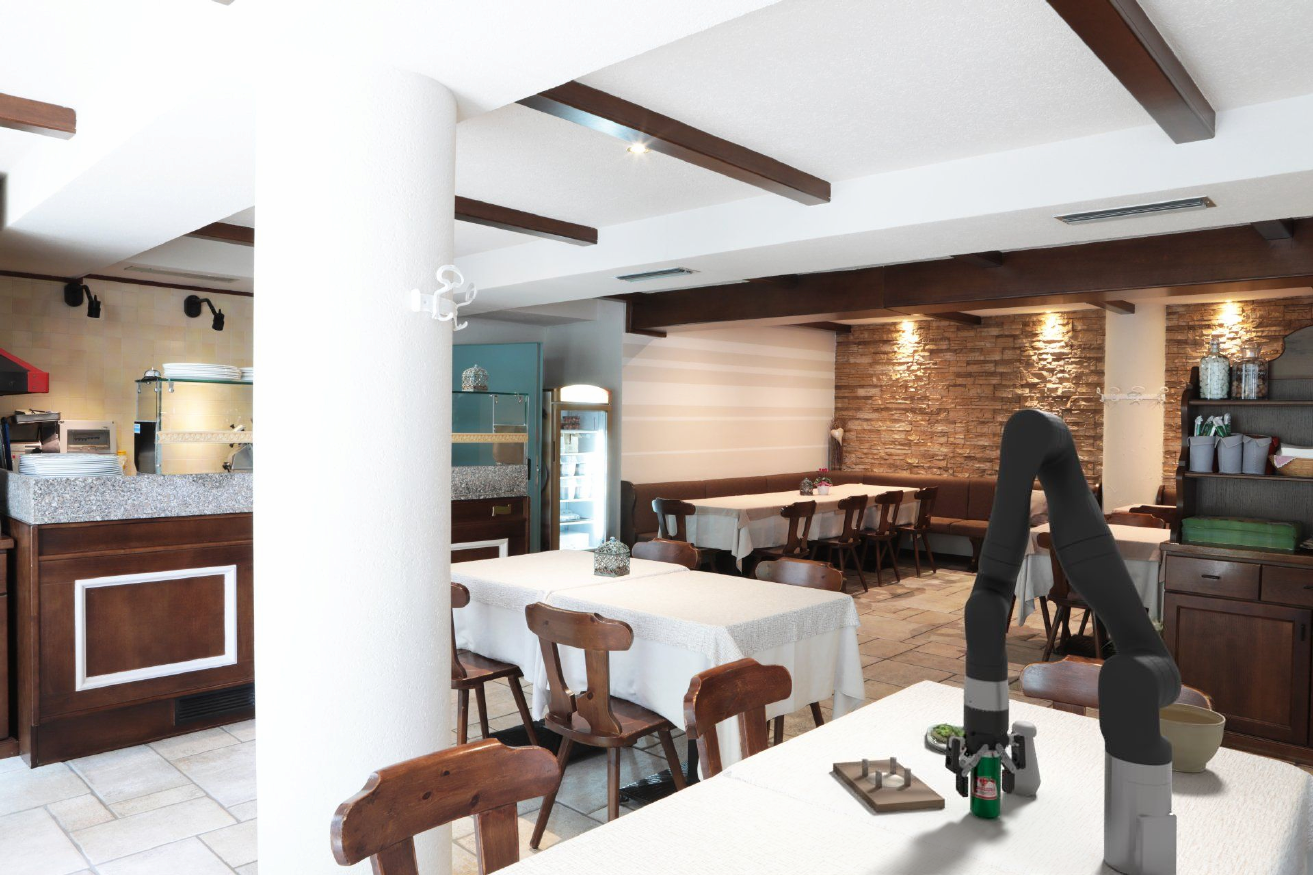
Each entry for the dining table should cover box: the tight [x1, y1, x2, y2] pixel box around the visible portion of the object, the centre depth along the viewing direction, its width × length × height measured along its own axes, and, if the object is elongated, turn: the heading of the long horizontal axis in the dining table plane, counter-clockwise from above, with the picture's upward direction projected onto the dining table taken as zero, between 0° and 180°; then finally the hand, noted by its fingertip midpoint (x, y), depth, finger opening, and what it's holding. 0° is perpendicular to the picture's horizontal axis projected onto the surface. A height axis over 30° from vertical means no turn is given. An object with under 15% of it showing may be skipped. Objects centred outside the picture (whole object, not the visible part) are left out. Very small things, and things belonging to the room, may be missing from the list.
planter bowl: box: [1159, 702, 1226, 773], centre depth 179 cm, size 16×16×11 cm
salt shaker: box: [1010, 720, 1042, 797], centre depth 164 cm, size 6×6×13 cm
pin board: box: [832, 756, 946, 814], centre depth 165 cm, size 20×13×4 cm, turn 11°
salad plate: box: [926, 722, 1008, 755], centre depth 189 cm, size 19×18×5 cm
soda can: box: [969, 749, 1002, 821], centre depth 154 cm, size 5×5×12 cm
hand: (985, 793), depth 154 cm, fingers open, 8 cm apart
